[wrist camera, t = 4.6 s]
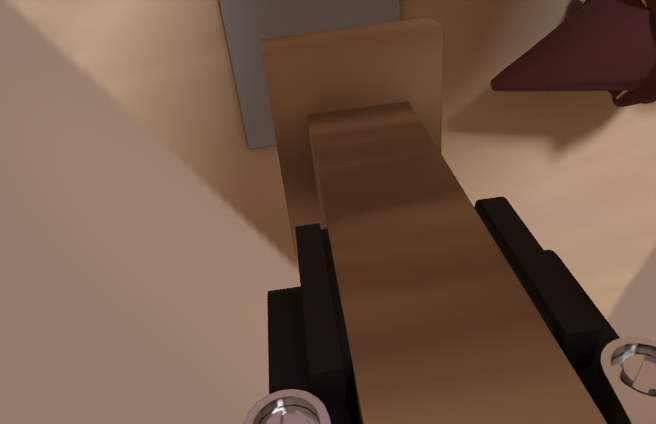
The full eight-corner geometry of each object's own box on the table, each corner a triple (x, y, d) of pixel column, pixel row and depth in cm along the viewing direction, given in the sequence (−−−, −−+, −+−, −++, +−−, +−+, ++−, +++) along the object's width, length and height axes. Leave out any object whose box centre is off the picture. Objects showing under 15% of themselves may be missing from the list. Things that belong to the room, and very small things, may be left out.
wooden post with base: (260, 38, 16) (262, 378, 5) (431, 16, 16) (747, 303, 6) (293, 234, 19) (331, 646, 9) (430, 214, 20) (615, 598, 9)
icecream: (525, 182, 27) (803, 79, 27) (531, 56, 22) (878, -72, 22) (465, 107, 32) (701, 19, 32) (458, -12, 26) (742, -117, 27)
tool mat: (211, -43, 26) (211, -41, 26) (395, -66, 26) (397, -66, 26) (249, 146, 31) (249, 149, 31) (401, 124, 32) (403, 127, 31)
